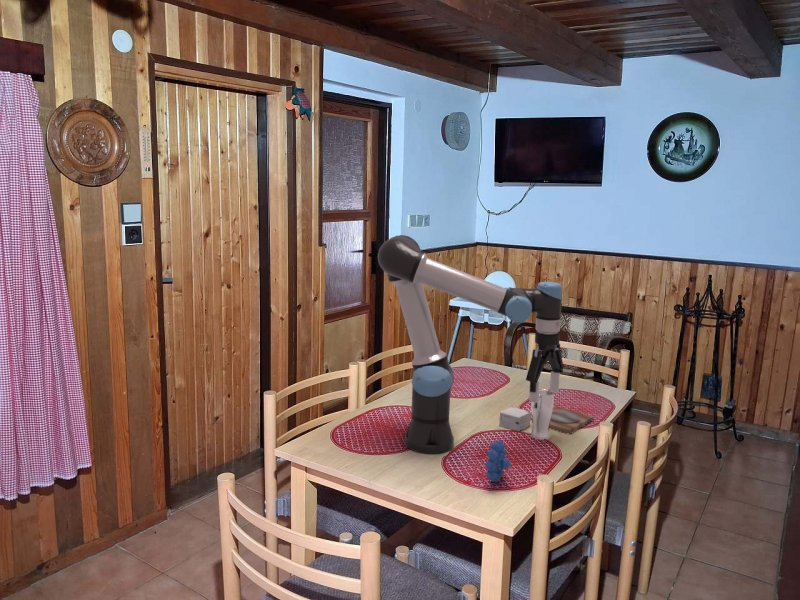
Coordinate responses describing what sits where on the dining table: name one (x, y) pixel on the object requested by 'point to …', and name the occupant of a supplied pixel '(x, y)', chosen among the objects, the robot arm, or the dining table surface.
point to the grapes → (496, 461)
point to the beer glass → (542, 414)
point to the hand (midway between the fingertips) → (544, 396)
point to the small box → (515, 418)
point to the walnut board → (568, 420)
